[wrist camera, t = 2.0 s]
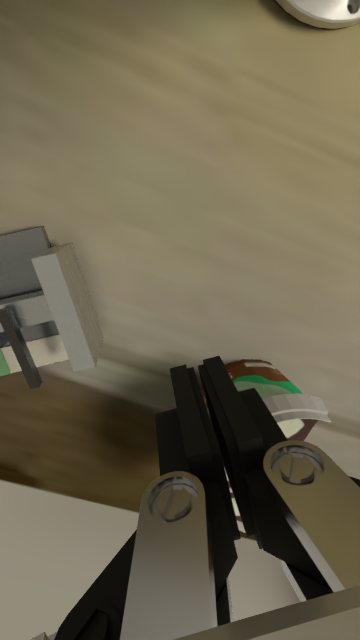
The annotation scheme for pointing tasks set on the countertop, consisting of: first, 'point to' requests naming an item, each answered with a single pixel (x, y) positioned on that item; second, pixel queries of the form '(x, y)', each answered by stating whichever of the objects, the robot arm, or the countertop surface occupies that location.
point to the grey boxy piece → (54, 312)
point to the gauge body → (18, 279)
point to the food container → (276, 402)
